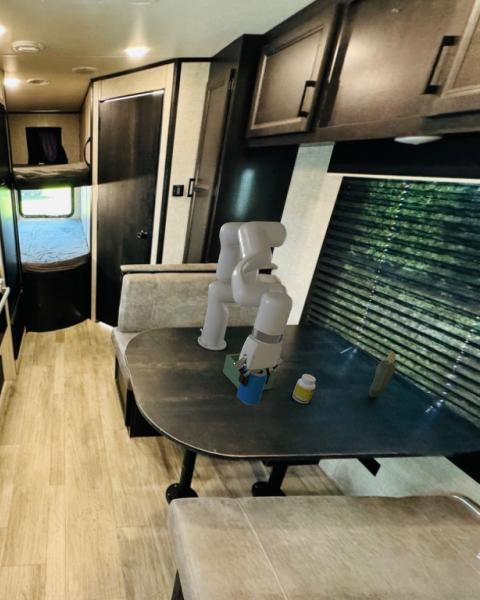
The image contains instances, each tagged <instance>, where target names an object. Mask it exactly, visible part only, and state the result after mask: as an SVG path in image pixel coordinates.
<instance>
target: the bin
mask: <svg viewBox="0 0 480 600" xmlns="http://www.w3.org/2000/svg"><path fill="white" fill-rule="evenodd" d="M240 354H241V352H239V353H231V354H226V355H225V361H224V364H223V369H222V373H223V375H225V376H226V378H227V379H229V381H230V382H231V383H232V384H233V386H235V387H236V388H237V390H238V389H239V385H240V382H239V381H238V379H239V375H240V372H239V371H238V369H237V368H236V367H235V366H234V363H235V362H237V361H238V360H239V357H240ZM277 372H278V370H277V368H275V369H274V370H273V373H270V377H269V380H268V383H267V384H265V385H264V389H263V391H265V390H271V389H272V388H273V385H274V382H275V379H276V376H277Z"/></svg>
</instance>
